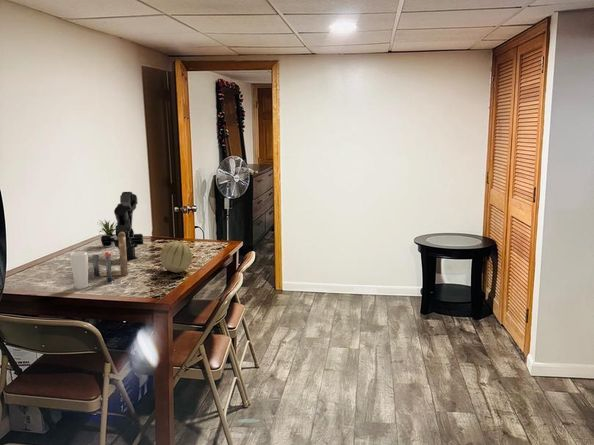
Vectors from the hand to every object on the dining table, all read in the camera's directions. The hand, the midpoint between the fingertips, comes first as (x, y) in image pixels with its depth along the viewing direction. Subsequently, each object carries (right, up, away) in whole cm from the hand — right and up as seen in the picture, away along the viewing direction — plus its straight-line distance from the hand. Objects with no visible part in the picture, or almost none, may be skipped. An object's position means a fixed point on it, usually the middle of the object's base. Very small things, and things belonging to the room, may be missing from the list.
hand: (121, 255), depth 243 cm
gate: (-2, -9, -4) cm, 10 cm away
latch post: (-1, -11, -14) cm, 17 cm away
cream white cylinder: (-10, -13, -21) cm, 26 cm away
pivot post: (-10, -9, -5) cm, 14 cm away
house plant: (-25, +2, +51) cm, 57 cm away
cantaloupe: (+25, -8, +2) cm, 27 cm away
